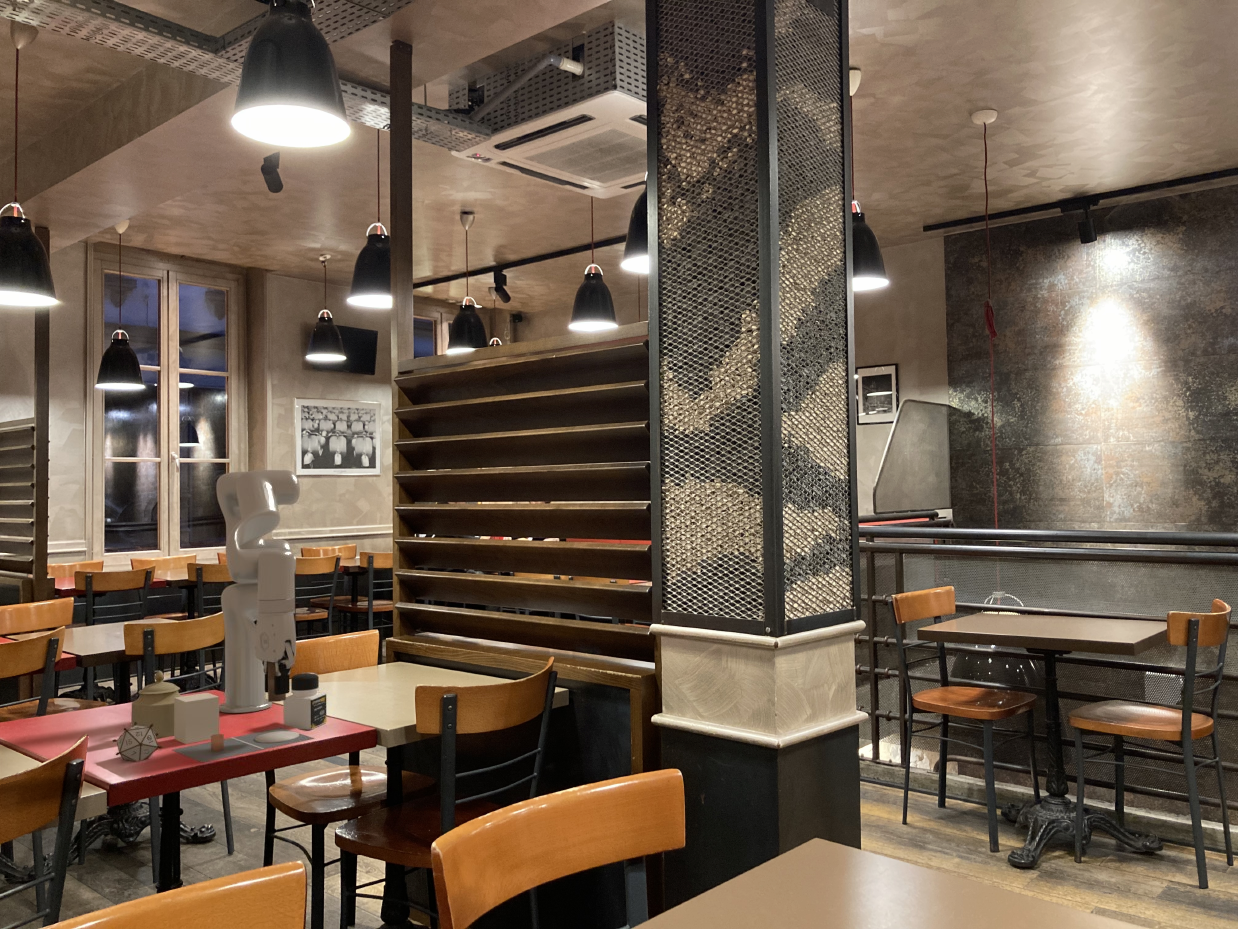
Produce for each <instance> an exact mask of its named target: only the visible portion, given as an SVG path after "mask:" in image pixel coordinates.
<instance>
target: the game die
mask: <svg viewBox="0 0 1238 929" xmlns="http://www.w3.org/2000/svg"><path fill="white" fill-rule="evenodd" d="M134 725H135V726H133V727H130V728H127V727H123V730H124V732H123V733H122V734H121V735H120V736H119V737H118V738H117V739H116V738H114V739H111V740H112V742H113V743H116V745H117V750H118V751H117V752H115V756H117V757H118V756H119V755H120V756H121V758H122V759H123V761H130V762H131V761H133V762H141V761H144V760H146V759H147V758H148V759H149V757H150V756H152V755H153V754H154V753H155V752H156V751H157V750H158V749H160V750H162V749H163V748H164V747H163V746H161V745H159V743H158V739H156V736H158V733H156V734H154V732H153V730H152V728H151V727H153V724H151V725H150V727H148V726H140V725H137V722H136V721H135V723H134Z"/></svg>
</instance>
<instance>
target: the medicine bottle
mask: <svg viewBox="0 0 1238 929" xmlns="http://www.w3.org/2000/svg"><path fill="white" fill-rule="evenodd" d="M319 681H320V680H319V675H318V674H317V673H314V672H302V673H296V674H294V675H293V676H292V677H291V679H290V684H291V685H290V689H291V691H290V692H291V695H288V696H286V700H283V701H282V703H283V704H282V705H283V706H282V707H283V726H287V727H291V728H292V729H293V728H294V729H297V730H302V731H304V730H305V731H311V730H314V729H316V728H319V727H320V726H322V725H324V724H326V723H327V693H326V692H322V691H321V692H319V690H320V689H319V688H320V687H319V685H320V684H319Z"/></svg>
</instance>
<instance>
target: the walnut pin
mask: <svg viewBox="0 0 1238 929" xmlns="http://www.w3.org/2000/svg"><path fill="white" fill-rule="evenodd" d="M281 660H285V657H284V658H281V659H279V661H281ZM282 664H284V663H281V664H280V668H281V666H282ZM274 676H277V675H276V667H275V662H269V661H268V693H267V699H268V701H270V702H272V703H276V702H283V700H286V697H287V693H286V694H280V695H275V694H274Z"/></svg>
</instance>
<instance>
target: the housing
mask: <svg viewBox="0 0 1238 929" xmlns="http://www.w3.org/2000/svg"><path fill="white" fill-rule="evenodd" d="M182 696H183V697H176V698H174V736H173V738H174V740H176V741H178V742H180V743H182V744H185V745H189V744H194V743H198V742H200V743H201V742H205V741H209V740H210V741H211V736H212V735H215V734H220V711H219V705H220V696H217V695H215V694H212V693H209V692H202V693H196V694H191V695H182Z"/></svg>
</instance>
